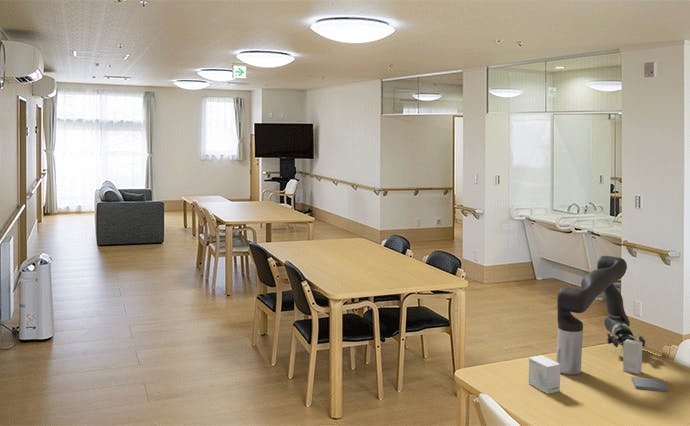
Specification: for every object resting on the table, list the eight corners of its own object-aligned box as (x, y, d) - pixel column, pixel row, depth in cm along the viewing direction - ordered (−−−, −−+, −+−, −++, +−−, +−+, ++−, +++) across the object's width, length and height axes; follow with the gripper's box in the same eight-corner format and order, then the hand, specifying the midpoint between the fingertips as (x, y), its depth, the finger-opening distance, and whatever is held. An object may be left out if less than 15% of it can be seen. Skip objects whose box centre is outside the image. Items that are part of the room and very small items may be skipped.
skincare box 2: (642, 371, 253) (643, 341, 251) (637, 374, 249) (639, 344, 248) (625, 367, 257) (627, 338, 255) (621, 370, 254) (623, 341, 252)
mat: (635, 388, 236) (635, 385, 236) (631, 379, 245) (631, 376, 245) (668, 391, 233) (668, 388, 233) (663, 382, 242) (663, 379, 242)
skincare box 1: (527, 384, 241) (528, 357, 239) (541, 381, 243) (542, 354, 242) (546, 394, 231) (547, 366, 230) (560, 391, 233) (561, 363, 232)
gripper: (605, 324, 280) (610, 335, 264) (640, 326, 276) (647, 338, 261) (604, 340, 281) (609, 353, 265) (639, 343, 277) (646, 356, 262)
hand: (628, 345), depth 263 cm, fingers open, 8 cm apart
